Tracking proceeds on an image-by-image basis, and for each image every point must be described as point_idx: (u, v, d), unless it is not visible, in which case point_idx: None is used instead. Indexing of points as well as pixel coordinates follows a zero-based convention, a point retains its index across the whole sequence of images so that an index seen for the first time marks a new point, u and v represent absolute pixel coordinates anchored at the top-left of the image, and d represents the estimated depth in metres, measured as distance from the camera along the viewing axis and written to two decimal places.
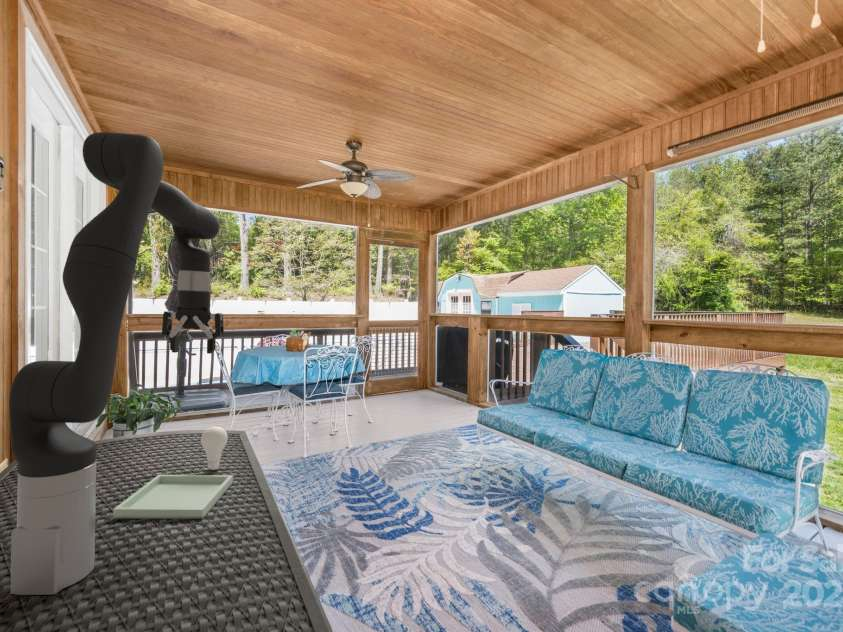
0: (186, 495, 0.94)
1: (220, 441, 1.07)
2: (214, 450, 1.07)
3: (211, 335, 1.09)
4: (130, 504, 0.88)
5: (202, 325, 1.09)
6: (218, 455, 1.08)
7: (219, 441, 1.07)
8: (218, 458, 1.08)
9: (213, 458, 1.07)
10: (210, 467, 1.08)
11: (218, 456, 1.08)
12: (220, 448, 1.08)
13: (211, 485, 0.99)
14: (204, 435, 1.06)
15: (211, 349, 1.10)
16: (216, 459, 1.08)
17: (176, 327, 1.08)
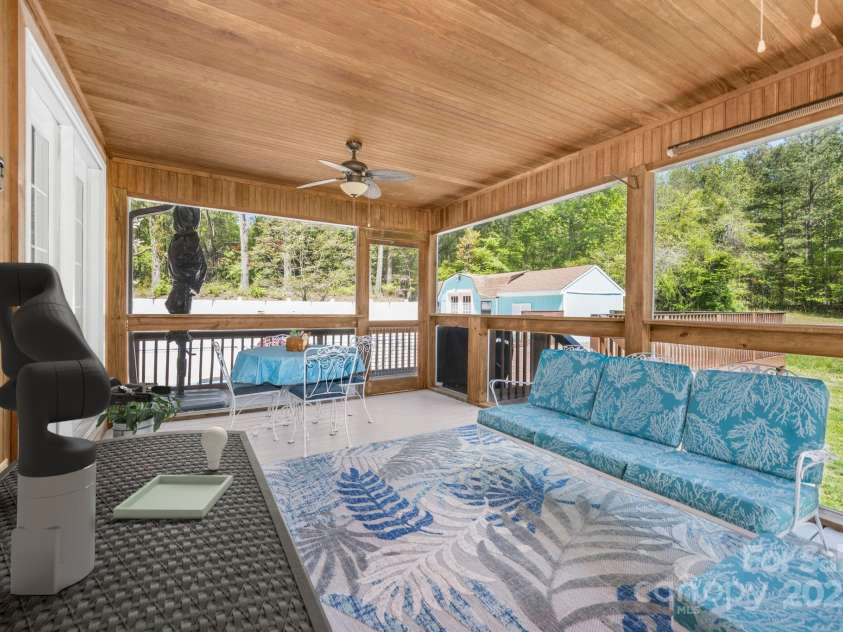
0: (186, 495, 0.94)
1: (220, 441, 1.07)
2: (214, 450, 1.07)
3: None
4: (130, 504, 0.88)
5: (138, 383, 1.10)
6: (218, 455, 1.08)
7: (219, 441, 1.07)
8: (218, 458, 1.08)
9: (213, 458, 1.07)
10: (210, 467, 1.08)
11: (218, 456, 1.08)
12: (220, 448, 1.08)
13: (211, 485, 0.99)
14: (204, 435, 1.06)
15: None
16: (216, 459, 1.08)
17: (126, 389, 1.03)
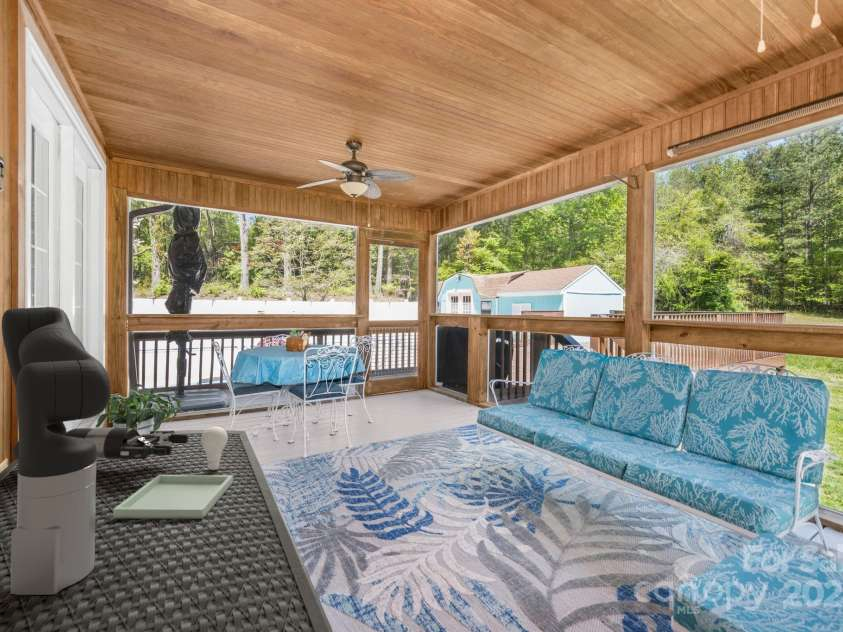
0: (186, 495, 0.94)
1: (220, 441, 1.07)
2: (214, 450, 1.07)
3: (170, 433, 1.12)
4: (130, 504, 0.88)
5: (156, 433, 1.10)
6: (218, 455, 1.08)
7: (219, 441, 1.07)
8: (218, 458, 1.08)
9: (213, 458, 1.07)
10: (210, 467, 1.08)
11: (218, 456, 1.08)
12: (220, 448, 1.08)
13: (211, 485, 0.99)
14: (204, 435, 1.06)
15: None
16: (216, 459, 1.08)
17: (145, 441, 1.04)
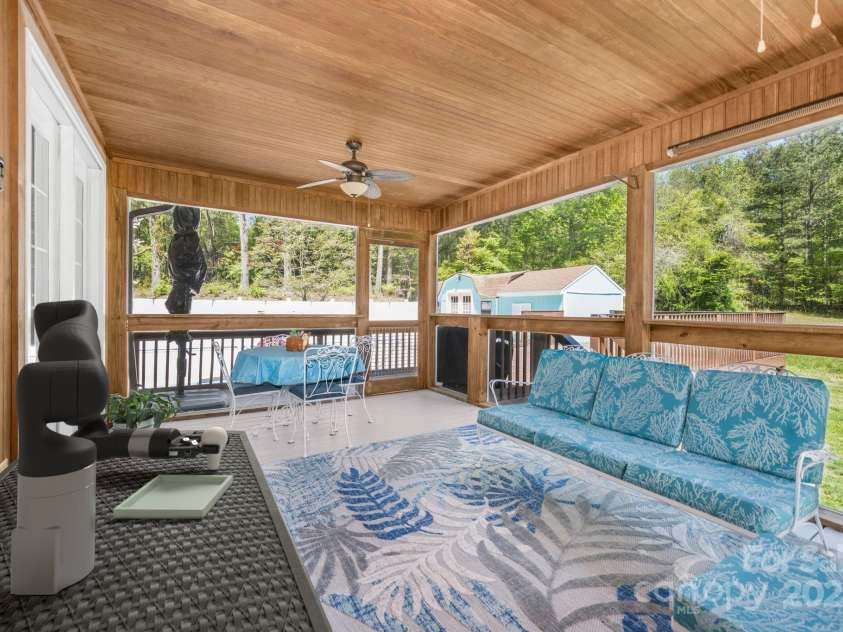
0: (186, 495, 0.94)
1: (220, 441, 1.07)
2: None
3: None
4: (130, 504, 0.88)
5: (198, 434, 1.11)
6: (218, 455, 1.08)
7: (219, 441, 1.07)
8: (218, 458, 1.08)
9: (213, 458, 1.07)
10: (210, 467, 1.08)
11: (218, 456, 1.08)
12: (220, 448, 1.07)
13: (211, 485, 0.99)
14: (204, 435, 1.06)
15: None
16: (216, 459, 1.08)
17: (192, 441, 1.05)
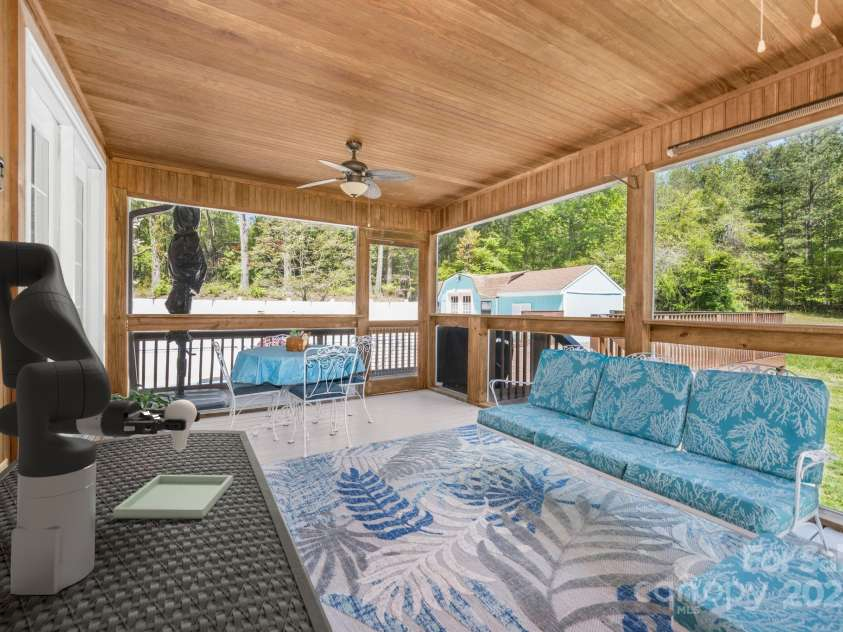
0: (186, 495, 0.94)
1: (187, 416, 0.90)
2: None
3: None
4: (130, 504, 0.88)
5: (162, 408, 0.94)
6: (184, 433, 0.92)
7: (186, 416, 0.90)
8: (185, 436, 0.92)
9: (178, 436, 0.91)
10: (175, 447, 0.91)
11: (185, 434, 0.92)
12: (187, 425, 0.91)
13: (211, 485, 0.99)
14: (168, 409, 0.90)
15: None
16: (182, 438, 0.91)
17: (153, 415, 0.89)
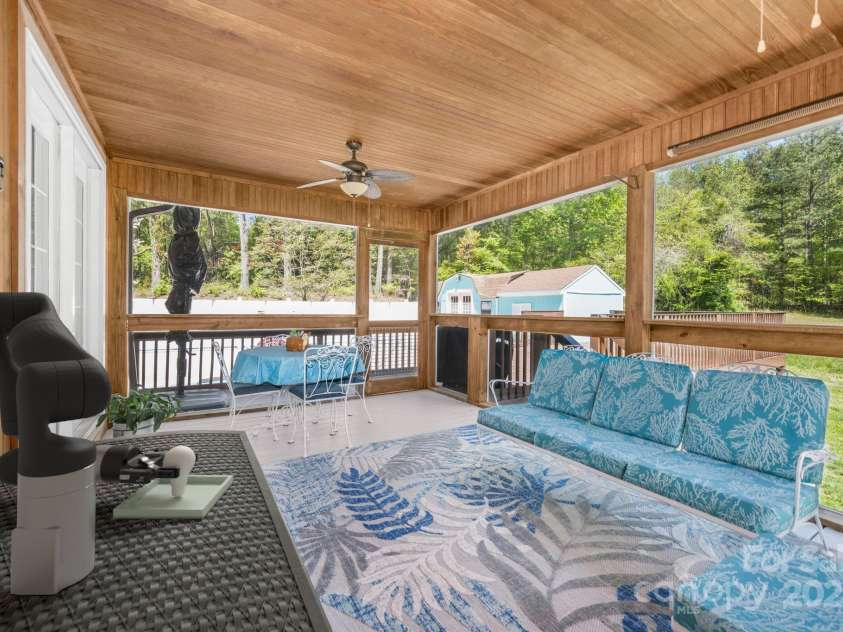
0: (186, 495, 0.94)
1: (186, 463, 0.91)
2: None
3: None
4: (130, 504, 0.88)
5: (161, 451, 0.95)
6: (183, 480, 0.92)
7: (185, 463, 0.91)
8: (183, 483, 0.92)
9: (177, 483, 0.91)
10: (174, 494, 0.92)
11: (184, 481, 0.92)
12: (186, 472, 0.92)
13: (211, 485, 0.99)
14: (166, 456, 0.90)
15: (194, 453, 0.98)
16: (181, 484, 0.92)
17: (149, 462, 0.89)
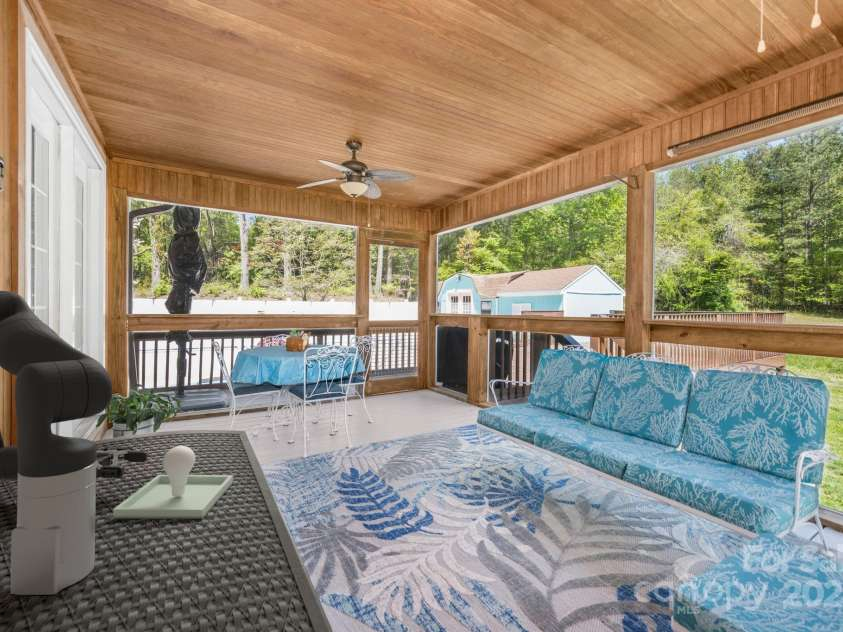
0: (186, 495, 0.94)
1: (186, 463, 0.91)
2: (178, 474, 0.91)
3: (126, 450, 0.96)
4: (130, 504, 0.88)
5: (109, 450, 0.94)
6: (183, 480, 0.92)
7: (184, 463, 0.91)
8: (183, 483, 0.92)
9: (177, 483, 0.91)
10: (174, 494, 0.92)
11: (183, 481, 0.92)
12: (185, 472, 0.92)
13: (211, 485, 0.99)
14: (166, 456, 0.90)
15: None
16: (181, 484, 0.92)
17: None
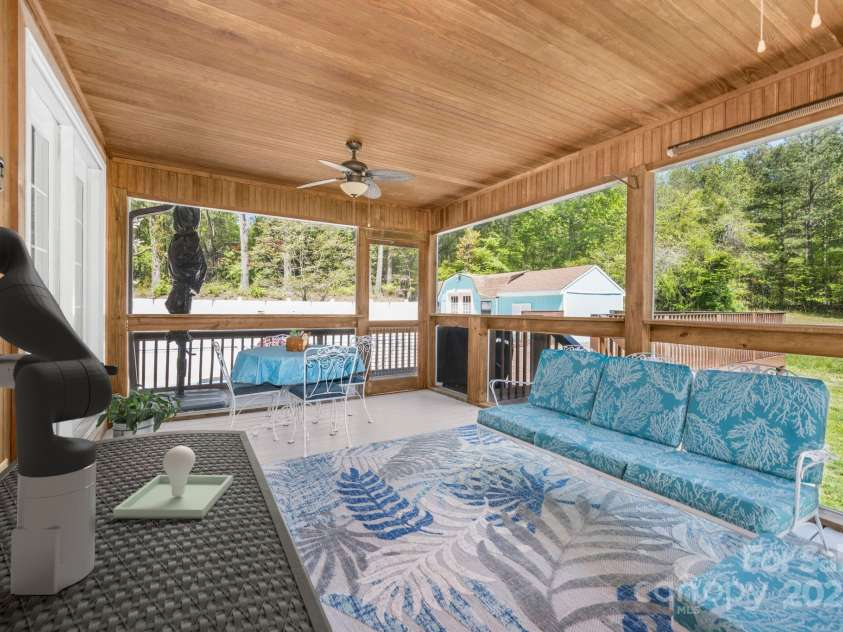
0: (186, 495, 0.94)
1: (186, 463, 0.91)
2: (178, 474, 0.91)
3: None
4: (130, 504, 0.88)
5: None
6: (183, 480, 0.92)
7: (184, 463, 0.91)
8: (183, 483, 0.92)
9: (177, 483, 0.91)
10: (174, 494, 0.92)
11: (184, 481, 0.92)
12: (185, 472, 0.92)
13: (211, 485, 0.99)
14: (166, 457, 0.90)
15: None
16: (181, 485, 0.92)
17: None
